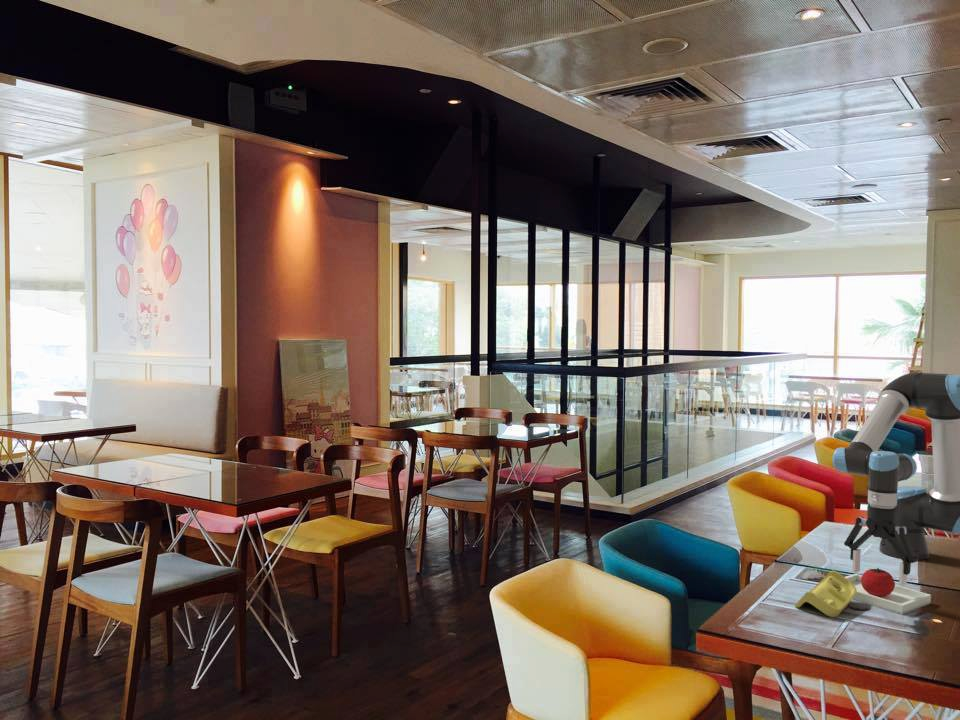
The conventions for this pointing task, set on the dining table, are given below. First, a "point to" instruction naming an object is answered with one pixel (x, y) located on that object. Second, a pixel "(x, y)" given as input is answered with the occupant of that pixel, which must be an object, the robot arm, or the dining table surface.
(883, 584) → the tomato
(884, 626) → the dining table surface
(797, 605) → the plastic component
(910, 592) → the tray
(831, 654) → the dining table surface
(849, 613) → the dining table surface
